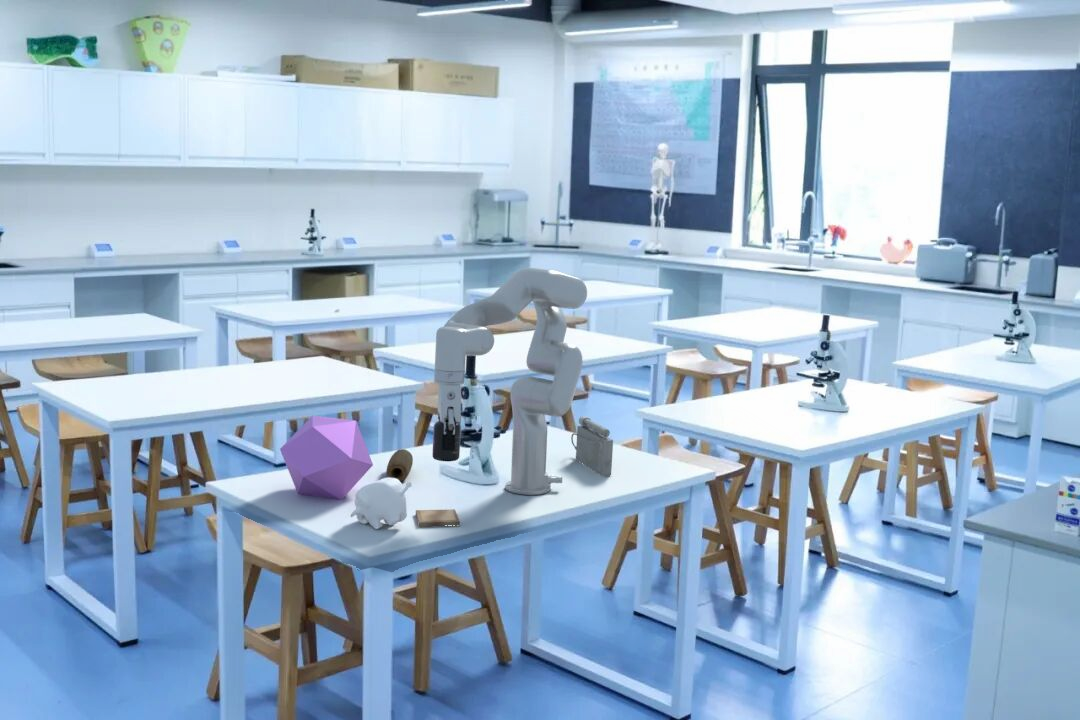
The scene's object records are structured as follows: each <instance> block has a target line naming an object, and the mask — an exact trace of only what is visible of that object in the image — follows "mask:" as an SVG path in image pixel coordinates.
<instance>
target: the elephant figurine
mask: <svg viewBox="0 0 1080 720" xmlns="http://www.w3.org/2000/svg"><path fill="white" fill-rule="evenodd" d="M411 487H412V482H410V481H409V482H407V483H405V486H403V484H402V482H401V481H399V480H398V479H396V478H389V477H384V478H381V479H378V480H376V481H373V482H370V483H368V484H365V485H363V486H362V487H361V488H360V489H359V490H358V491H357V492H356V494H355V498H354V505H355V509H354V510H353V511H352V512H351V513H350V515H349V516H350V518H353V517H354V516H356V519H357V520H358V522H360V523H361V524H363V525H366V524H370V526H371V527H373V529H375V530H379V529H381V528H382V527H383V525H384V523H383V522H381V521H382V520H383V521H384V522H385V523H386V525H387V524H388V526H393V525H396V524H398V523H401V522H404V521H405V519H407V516H408V515H407V514H408V513H407V512H408V510H407V498H406V493H407V491H408V489H409V488H411Z"/></svg>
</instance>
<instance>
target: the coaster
mask: <svg viewBox="0 0 1080 720" xmlns="http://www.w3.org/2000/svg"><path fill="white" fill-rule="evenodd" d="M415 517H416V521H417V524H418V527H419V528H426V527H425V526H445V525H447V527H449V526H448V525H452V526H451V527H458V526H457V525H460V524H461V521H460V519H459V516H458V513H457V512H456V509H455V508H454V509H420V510H419V509H416V510H415ZM453 525H455V526H453Z"/></svg>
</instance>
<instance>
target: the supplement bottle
mask: <svg viewBox="0 0 1080 720" xmlns="http://www.w3.org/2000/svg"><path fill="white" fill-rule="evenodd" d="M447 414H448V411H447ZM437 419H438V421H436V422H435V423H434V425H433V434H432V435H433V436H432V437H433V438H432V458H433V459H434V460H435V461H440V462H455V461H457V460H459V459H460V451H461V434H462V433H461V432H462V427H461V426H462V425H461V424H460V423H459V424H458V423H457V422H456V421H455V450H442V434H443V423H442V422H441V421H440V416H439V412H438V411H437ZM445 422H448V420H445ZM446 427H447V425H446Z"/></svg>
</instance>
